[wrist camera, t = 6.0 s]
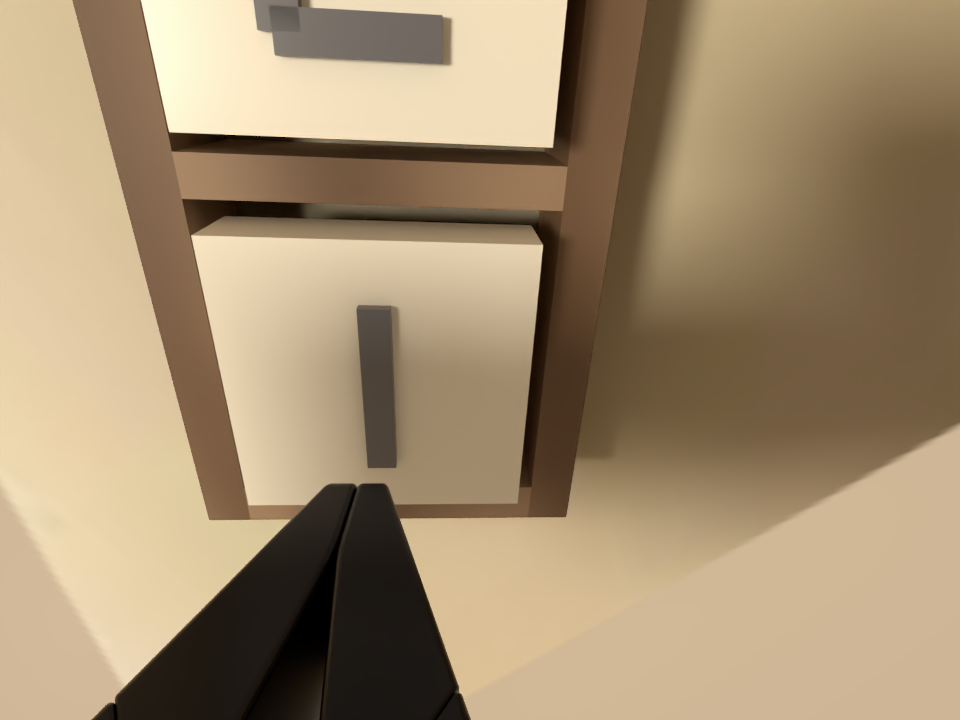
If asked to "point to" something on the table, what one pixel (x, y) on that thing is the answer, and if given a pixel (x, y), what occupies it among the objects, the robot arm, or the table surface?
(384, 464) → the tile
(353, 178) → the tile rack
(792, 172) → the table surface
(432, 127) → the tile
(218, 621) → the robot arm
